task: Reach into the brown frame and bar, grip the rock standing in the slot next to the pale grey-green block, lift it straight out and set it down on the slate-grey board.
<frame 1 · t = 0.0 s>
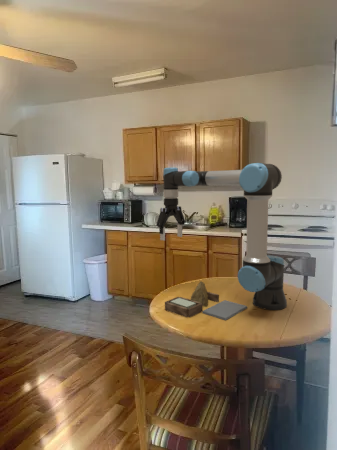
hand: (171, 238, 178), 28 cm above the table, tool pointing down, fingers open, 13 cm apart
board: (225, 310, 151), on the table
rock: (199, 303, 161), on the table
brown frame and bar: (199, 303, 161), on the table
pale grey-green block: (183, 310, 152), resting in brown frame and bar
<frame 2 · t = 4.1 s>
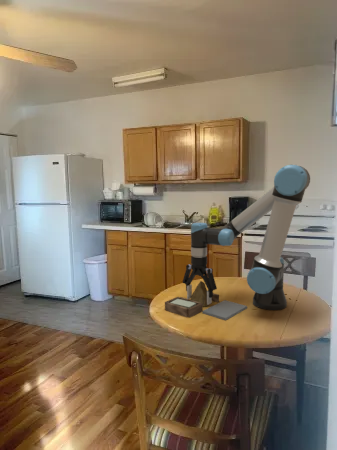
hand: (199, 300, 161), 1 cm above the table, tool pointing down, fingers closed on rock, 11 cm apart
rock: (199, 303, 161), on the table, touching gripper
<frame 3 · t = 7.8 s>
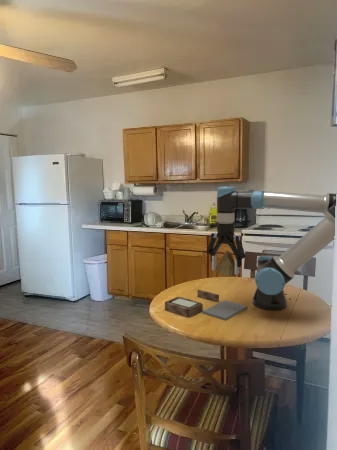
hand: (225, 271, 149), 18 cm above the table, tool pointing down, fingers closed on rock, 11 cm apart
rock: (225, 274, 149), point 17 cm above the table, touching gripper
everything else where it was.
when the fingers open (3 cm above the table, at t = 11.5 s): rock drops 1 cm, resting on board.
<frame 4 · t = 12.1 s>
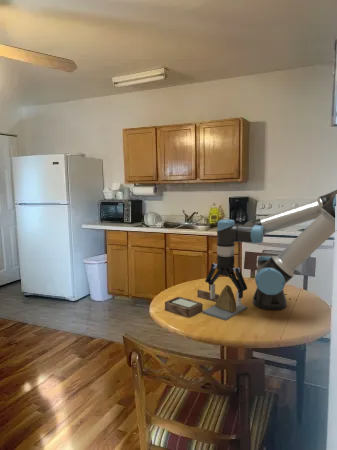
hand: (225, 301, 151), 4 cm above the table, tool pointing down, fingers open, 13 cm apart
rock: (225, 309, 151), point 1 cm above the table, touching board
everything else where it was.
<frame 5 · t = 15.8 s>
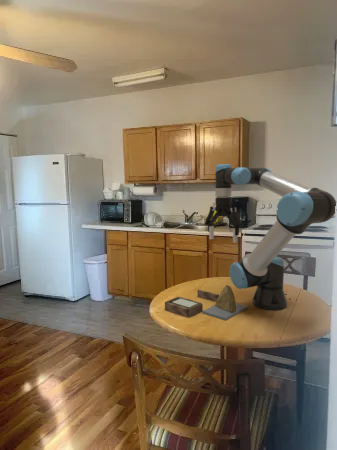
hand: (223, 240, 165), 29 cm above the table, tool pointing down, fingers open, 13 cm apart
nothing on the table moved.
at the end: rock inside the target area on the board (0.2 cm from its centre), point 0.8 cm above the board's base; rock tilted 0°; the gripper is holding nothing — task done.
